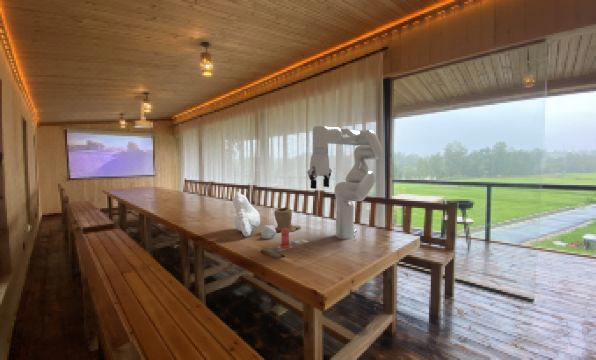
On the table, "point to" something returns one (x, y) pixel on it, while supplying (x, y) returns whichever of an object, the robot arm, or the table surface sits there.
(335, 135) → the robot arm
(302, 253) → the table surface
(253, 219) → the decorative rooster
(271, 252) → the board
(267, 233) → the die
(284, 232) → the pawn
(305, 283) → the table surface
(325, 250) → the table surface
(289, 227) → the stone cup
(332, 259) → the table surface
